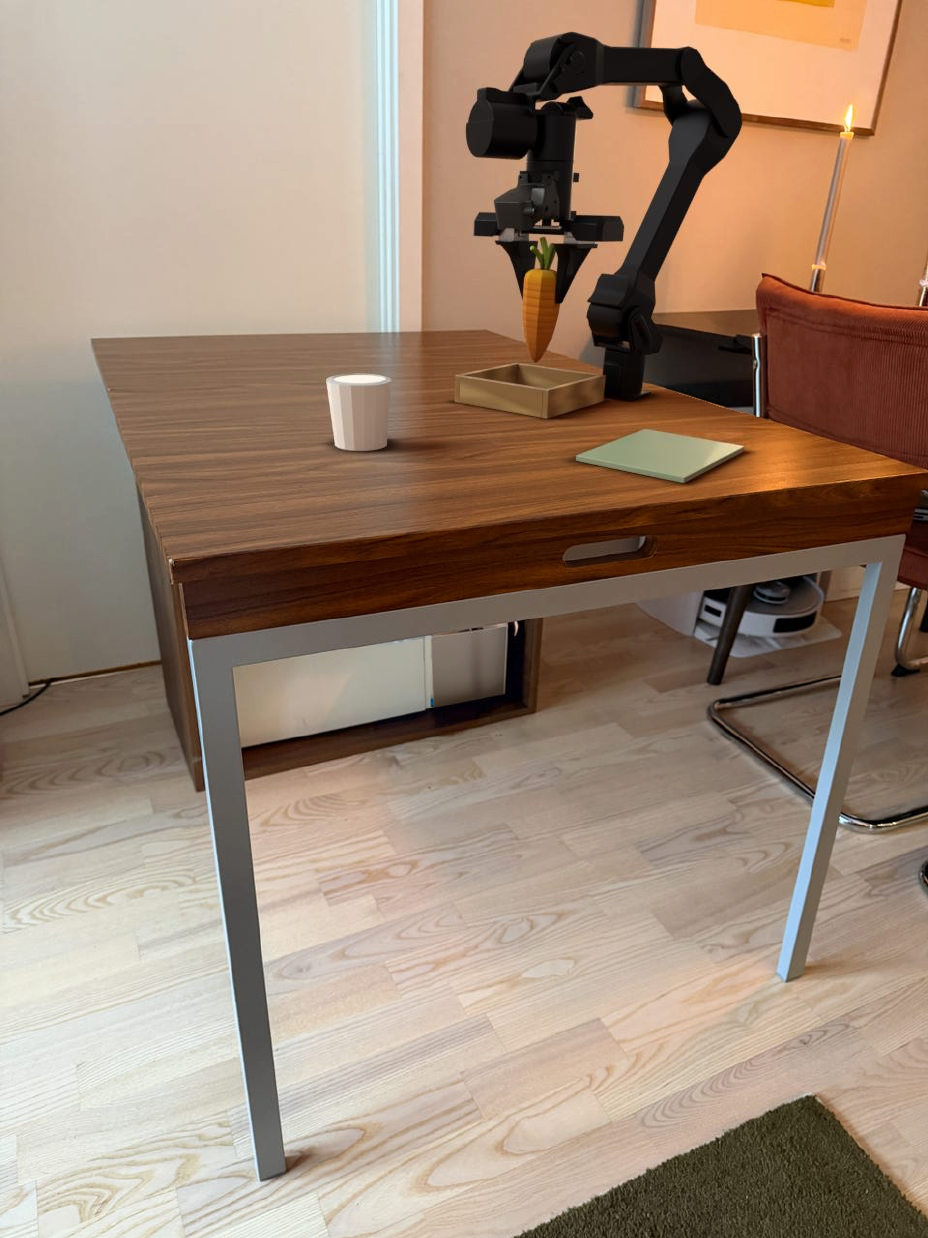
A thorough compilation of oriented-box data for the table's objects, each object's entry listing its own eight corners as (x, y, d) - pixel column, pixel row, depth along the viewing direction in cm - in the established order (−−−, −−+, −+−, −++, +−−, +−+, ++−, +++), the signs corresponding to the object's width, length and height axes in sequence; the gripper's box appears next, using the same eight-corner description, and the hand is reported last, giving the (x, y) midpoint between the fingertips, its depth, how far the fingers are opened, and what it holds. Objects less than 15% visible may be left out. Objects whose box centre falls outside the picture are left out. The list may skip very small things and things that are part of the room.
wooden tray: (515, 387, 122) (516, 362, 121) (603, 401, 115) (606, 375, 113) (454, 401, 112) (454, 375, 110) (546, 418, 104) (548, 390, 102)
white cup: (354, 433, 95) (352, 370, 92) (405, 442, 92) (404, 377, 89) (315, 446, 89) (312, 379, 86) (367, 455, 86) (366, 386, 83)
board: (644, 433, 98) (645, 428, 98) (743, 451, 92) (744, 446, 91) (575, 460, 87) (576, 455, 86) (683, 483, 80) (684, 477, 80)
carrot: (552, 367, 107) (565, 239, 100) (513, 363, 108) (525, 236, 101) (556, 361, 111) (569, 238, 104) (519, 357, 112) (530, 234, 105)
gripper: (446, 159, 99) (445, 299, 105) (583, 156, 88) (571, 312, 95) (501, 164, 107) (496, 294, 113) (632, 162, 96) (618, 306, 103)
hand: (541, 301), depth 106 cm, fingers closed on carrot, 5 cm apart
